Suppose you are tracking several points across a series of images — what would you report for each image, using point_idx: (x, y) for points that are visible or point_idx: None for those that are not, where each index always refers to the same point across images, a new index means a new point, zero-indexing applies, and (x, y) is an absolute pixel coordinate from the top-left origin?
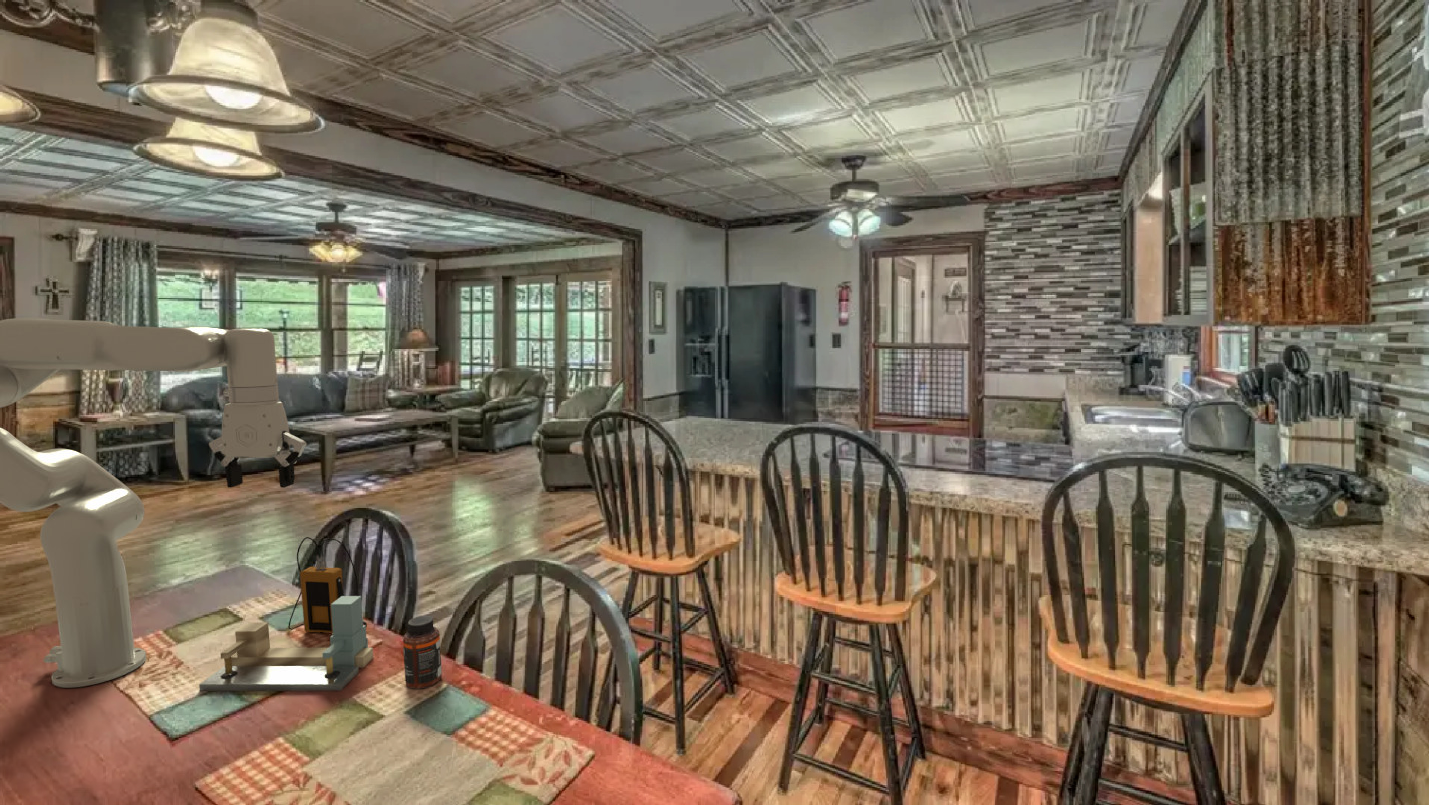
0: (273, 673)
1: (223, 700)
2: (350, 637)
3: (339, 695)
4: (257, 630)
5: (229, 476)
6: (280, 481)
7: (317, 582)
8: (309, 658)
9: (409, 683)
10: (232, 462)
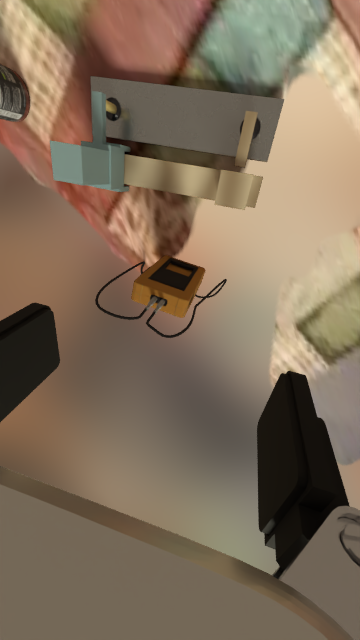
0: (190, 124)
1: (238, 63)
2: (83, 141)
3: (91, 63)
4: (220, 176)
5: (299, 417)
6: (24, 316)
7: (164, 283)
8: (156, 159)
9: (11, 70)
10: (298, 542)
